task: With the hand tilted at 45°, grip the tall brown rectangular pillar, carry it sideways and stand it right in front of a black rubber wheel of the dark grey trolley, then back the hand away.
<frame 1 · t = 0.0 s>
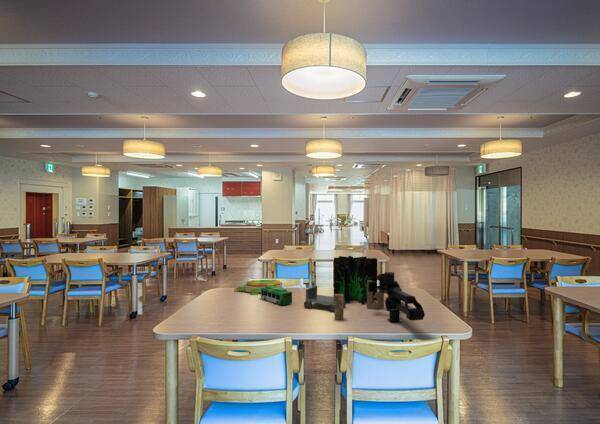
hand: (377, 284, 231), 17 cm above the table, tool horizontal, fingers open, 9 cm apart
toy bus: (275, 302, 251), on the table
decorative plant: (354, 299, 259), on the table
green piece: (262, 291, 287), on the table
brown rectangular pillar: (339, 318, 210), on the table
trolley: (325, 307, 236), on the table
wooden block: (375, 308, 234), on the table
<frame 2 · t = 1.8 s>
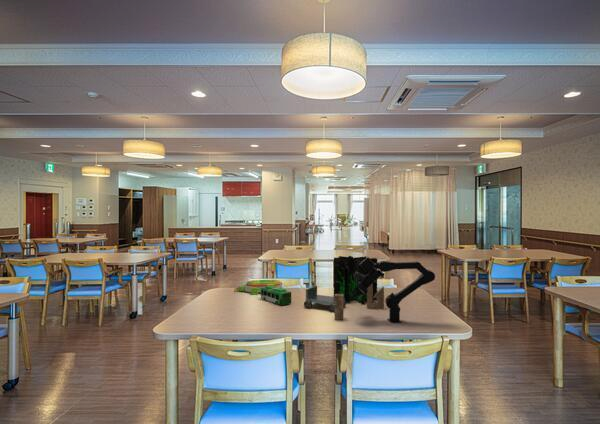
hand: (352, 295, 210), 14 cm above the table, tool tilted 45°, fingers open, 9 cm apart
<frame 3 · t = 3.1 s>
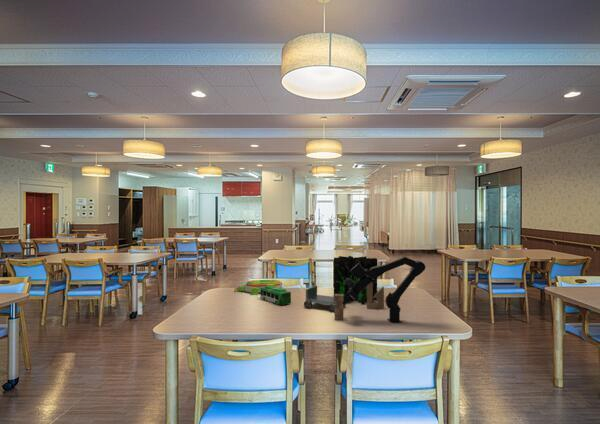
hand: (343, 301, 210), 10 cm above the table, tool tilted 45°, fingers open, 9 cm apart
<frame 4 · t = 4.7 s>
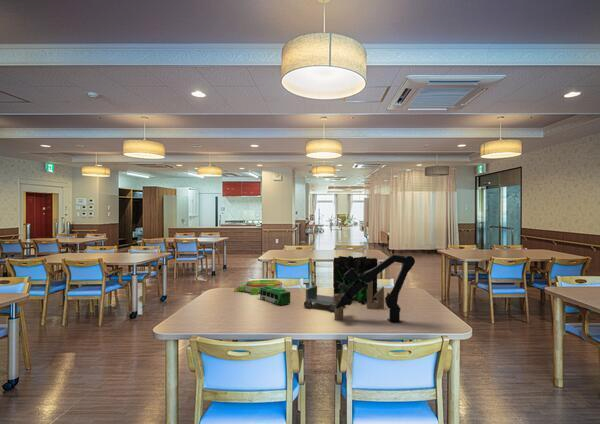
hand: (336, 306, 211), 7 cm above the table, tool tilted 45°, fingers closed on brown rectangular pillar, 5 cm apart
brown rectangular pillar: (339, 318, 210), on the table, touching gripper
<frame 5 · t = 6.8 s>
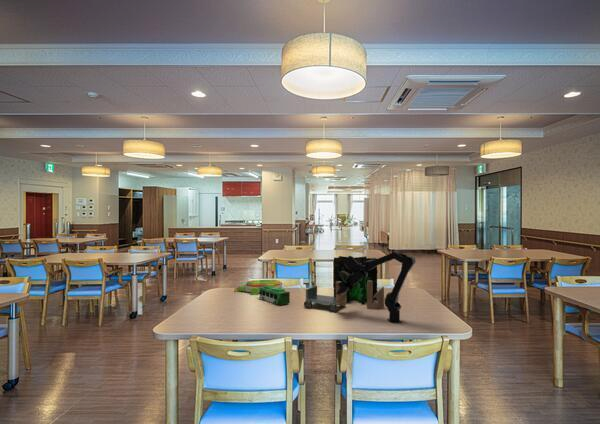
hand: (339, 293, 223), 12 cm above the table, tool tilted 45°, fingers closed on brown rectangular pillar, 5 cm apart
brown rectangular pillar: (341, 304, 222), point 5 cm above the table, touching gripper
when the fingers open (8 cm above the table, at t = 8.1 s): brown rectangular pillar drops 1 cm, on the table.
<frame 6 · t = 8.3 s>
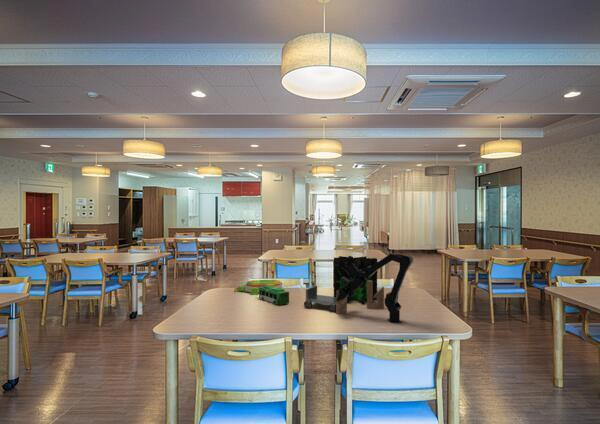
hand: (339, 299, 223), 9 cm above the table, tool tilted 45°, fingers open, 7 cm apart
brown rectangular pillar: (341, 313, 222), on the table
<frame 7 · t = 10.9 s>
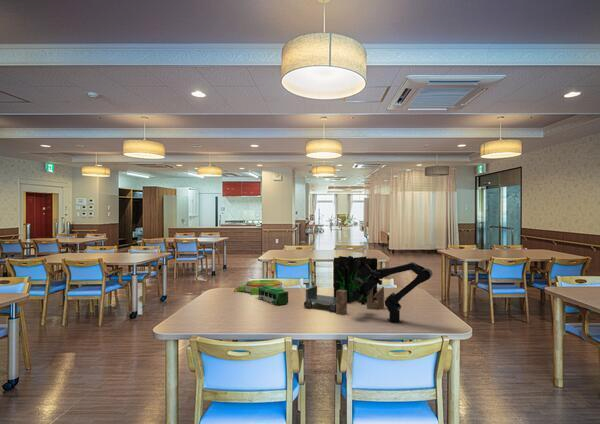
hand: (352, 300, 219), 9 cm above the table, tool tilted 45°, fingers open, 9 cm apart
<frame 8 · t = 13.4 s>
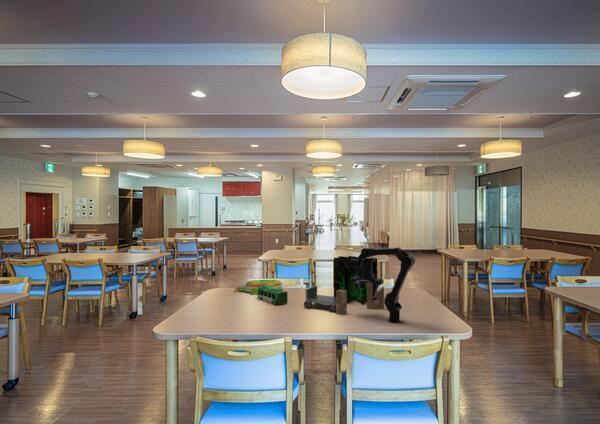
hand: (367, 294, 216), 13 cm above the table, tool pointing down, fingers open, 9 cm apart
at the end: brown rectangular pillar 0.1 cm from the target spot on the table beside the trolley, on the table; brown rectangular pillar tilted 0°; the gripper is holding nothing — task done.
